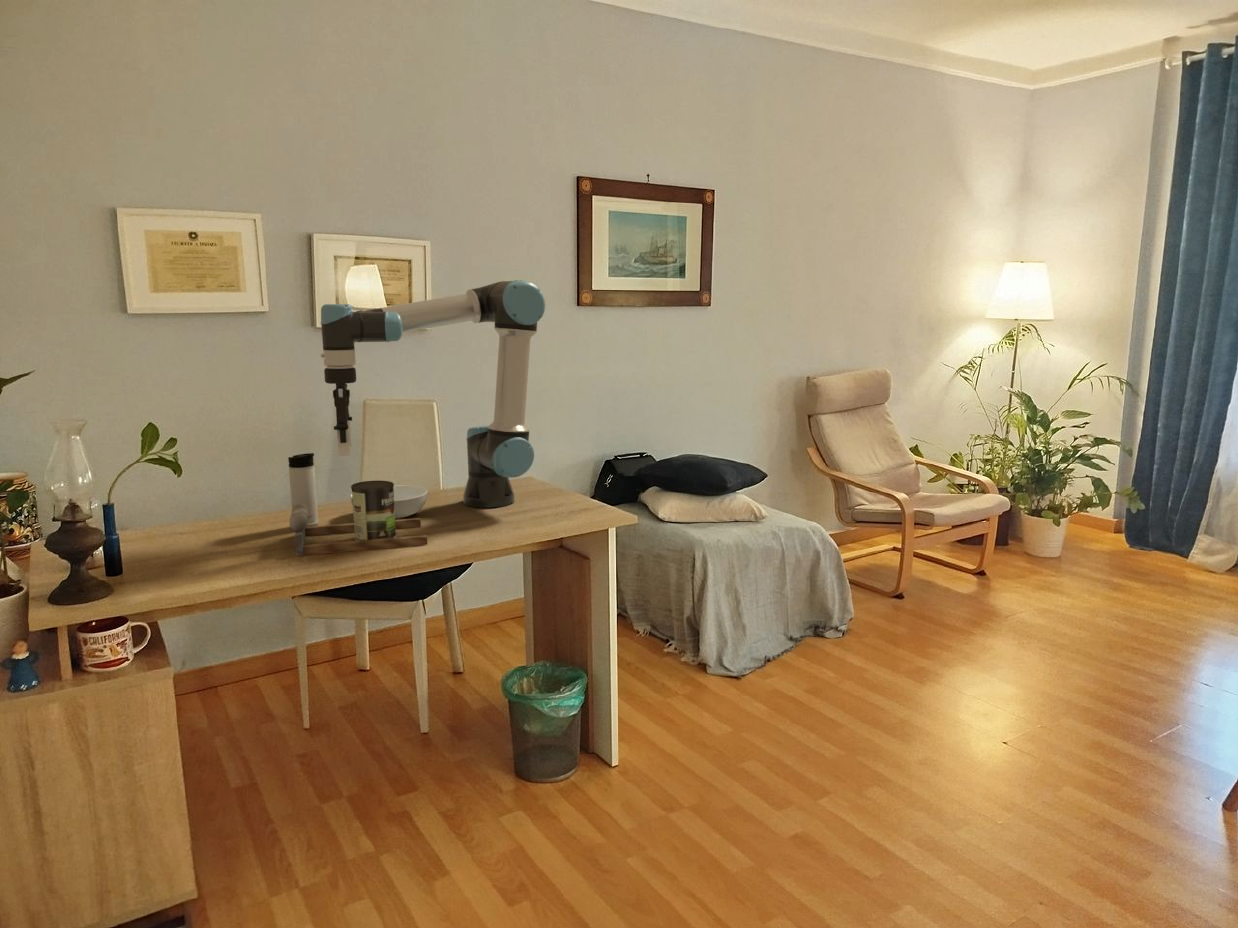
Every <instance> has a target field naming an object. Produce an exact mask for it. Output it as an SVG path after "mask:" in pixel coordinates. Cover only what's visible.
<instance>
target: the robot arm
mask: <svg viewBox="0 0 1238 928" xmlns="http://www.w3.org/2000/svg"><path fill="white" fill-rule="evenodd" d="M545 311H546V300H545V297H544V294H543V293H542V291H541V290H540V288H539V287H538V286H537V285H536V284H535V283H532V282H530V281H526V280H507V281H506V280H505V281H504V280H503V281H498V282H494V283H491V284H488V285H484V286H481V287H475V288H470V289H467V291H466V292H465V293H462V294H456V295H450V296H446V297H437V298H432V299H426V300H420V301H415V302H410V303H409V302H408V303H403V304H396V305H392V306H385V307H380V308H373V309H367V310H362V309H361V310H356V311H354V309H353V306H352V305H351V304H349V303H343V304H342V303H340V304H339V303H338V304H337V303H336V304H335V303H332V304H331V303H328V304H323V305H322V306H321V308H320V325H321V339H322V352H323V353H321V354H320V358H321V359H322V358H323V366H325V368H324V372H323V373H324V382H325V383H326V384H331V385H333V384H335V388H334V389H333V390H332V397H333V400H334V401H333V402H334V407H335V412H336V414H335V417H336V424H335V426H333V431H336V435H337V436H336V437H337V452H338V453H337V454H338V457H344V456H347V457H348V456H351V450H350V449H351V447H352V440H351V439H352V438H351V437H352V436H351V425H350V424H351V421H353V416H350V412H349V406H350V398H351V397H350V396H351V391H350V389H348V384H354V383H356V381H357V369H356V367H354V366H355V365H356V348H355V343H384V342H385V343H389V342H390V343H391V342H397V341H400V339H401V338H402V336H403V334H404V333H409V332H415V331H421V330H426V329H431V328H436V327H438V328H439V327H442V326H449V325H455V324H460V323H466V322H473V324H479V323H494V327H493V328H494V330H495V331H496V333H497V334H498V337H499V338H498V339H499V340H498V351H497V352H498V353H497V354H498V355H497V368H496V370H497V371H496V382H495V384H496V385H495V396H494V397H495V399H494V400H495V401H494V410H493V411H494V413H493V414H494V415H493V422H492V423H490V424H489V425H480V426H472V427H469V428H468V429H467V433H466V445H467V446H466V448H467V449H466V450H467V469H468V471H467V472H468V478H467V482H466V485H465V487H464V492H463V494H462V495H463V496H462V497H463V498H462V500H463V504H464V505H465V506H468V507H473V508H498V507H505V506H509V505H511V503H512V504H513V503H514V502H515V492H514V490H513V487H512V484H511V481H510V478H513V479H514V478H519V477H521V476H523V475H524V474H526V473H527V472H528V471H529V470H530V469H531V467H532V465H533V464H534V463H533V462H534V460H535V451H534V448H533V445H532V444H531V442H530V441H529V440H530V428H528V426H527V425H526V424H525V420H526V407H527V392H528V380H529V379H528V378H529V366H530V364H529V363H530V351H531V350H530V349H531V339H532V337H533V336H535V334H537V329H538V322H539V321H540V320H541V319H542V317H543V316H544V315H545Z"/></svg>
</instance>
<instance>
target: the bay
mask: <svg viewBox="0 0 1238 928" xmlns="http://www.w3.org/2000/svg"><path fill="white" fill-rule="evenodd" d="M307 520H308V508H307V506H305V505H304V504H297V505H295V506H294V507H293V508H292V507H291V513H290V516H289V528H290V529H291V530H292V531H294V543H295V555H296V557H299V556H300V557H301V556H309V555H320V554H332V553H333V554H334V553H343V552H345V553H346V552H352V551H353V552H357V551H368V550H369V551H370V550H378V549H379V550H380V549H388V548H390V549H391V548H401V547H403V548H404V547H412V546H413V545H415V546H423V544H427V545H428V535H427V534H421V535H411V536H410V535H409V536H399V537H398V536H397V537H396V538H386V539H374V540H362V541H355V540H351V541H340V542H328V543H317V544H316V543H315V544H305V541H306V537H309V536H311V537H312V536H320V535H321V536H322V535H332V534H333V535H334V534H346V533H355V531H354V522H351V523H340V524H338V523H337V524H325V525H318V526H310V527H306V526H307ZM421 523H422V521H421V518H420V517H418V518H417V517H414V518H401V519H396V520H395V528H396V529H408V528H421V527H422V525H421ZM413 547H414V546H413Z"/></svg>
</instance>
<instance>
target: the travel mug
mask: <svg viewBox="0 0 1238 928" xmlns="http://www.w3.org/2000/svg"><path fill="white" fill-rule="evenodd" d="M314 456H315V453H314V452H310V453H309V452H307V453H302V454H301V453H300V454H296V455H295V454H294V455H293V456H289V457H288V458H287V460H288V461H287V462H288V475H289V477H288V478H289V484H290V485H289V487H290V498H291V499H290V500H291V503H290V504H291V509H292V508H293V507H294V506H295V505H297V504H304V505H305V506H307V508H308V520H307V526H306V527H310V526H319V520H318V519H319V518H318V517H319V516H318V504H317V503H318V502H317V489H316V488H317V487H316V486H317V485H316V475H315V471H316V470H315V463H314V462H315V461H314Z"/></svg>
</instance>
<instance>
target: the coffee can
mask: <svg viewBox="0 0 1238 928" xmlns="http://www.w3.org/2000/svg"><path fill="white" fill-rule="evenodd" d="M394 485H395V484H394V482H393V481H389V480H364V481H360V482H356V483H353V484H351V486H350V488H351V494H352V501H353V505H352V511H353V516H352V517H353V523H354V531H355V532H354V541H362V540H374V539H386V538H397V533H396V528H395V509H394V488H393V487H394Z"/></svg>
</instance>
